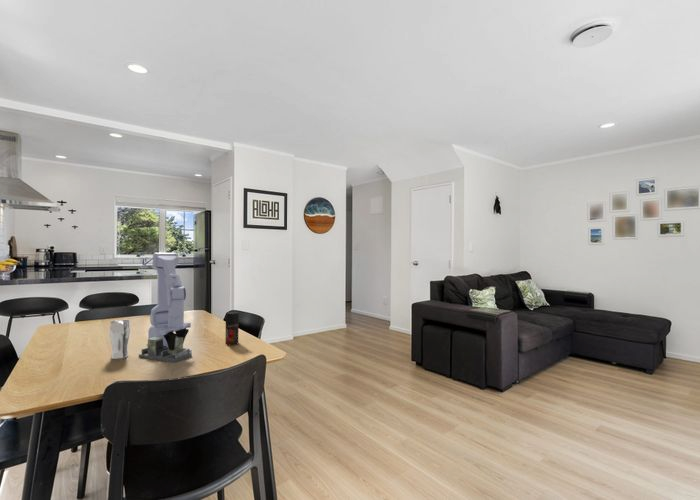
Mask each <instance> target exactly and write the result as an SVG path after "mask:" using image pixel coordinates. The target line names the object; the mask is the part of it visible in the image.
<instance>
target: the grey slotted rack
mask: <svg viewBox="0 0 700 500" xmlns="http://www.w3.org/2000/svg"><path fill="white" fill-rule="evenodd" d="M147 344H148V345H147V347H144V348H141V353H139V354H138V358H141V359H148V360H149V359H150V360H155V361H162V362H170V363H178V362H181V361H182V360H185V359H188V358H190V357H192V355H193V351H192V349H190V348H188V347H183V351H181V352H178V353H175V354H170V353H168V345H166V346H164V345H163V338H161V337H153V338H150V339H148V338H147Z"/></svg>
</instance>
